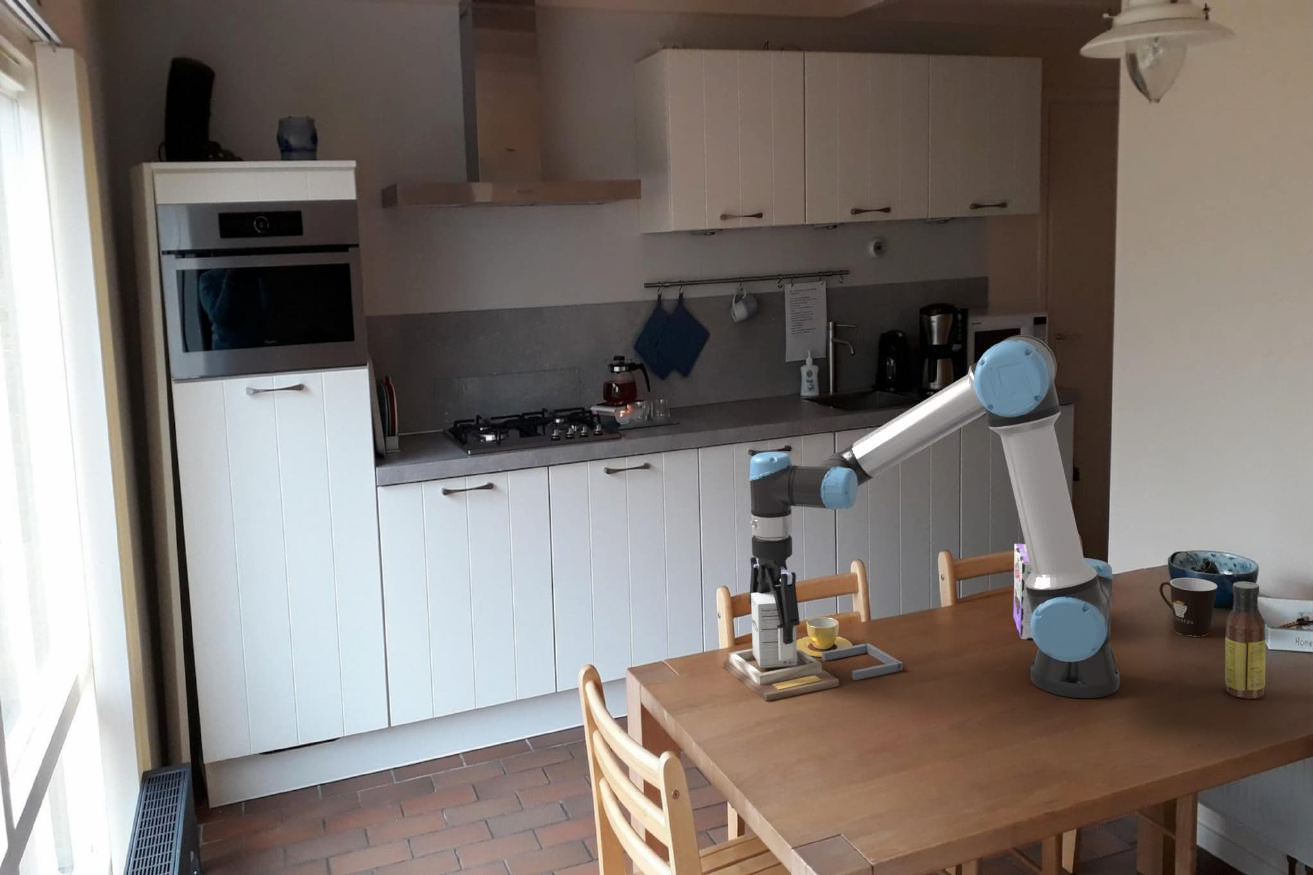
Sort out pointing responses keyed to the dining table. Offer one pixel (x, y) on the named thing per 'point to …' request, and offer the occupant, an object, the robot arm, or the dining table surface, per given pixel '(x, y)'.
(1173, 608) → the coffee mug
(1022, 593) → the candy box
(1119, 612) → the dining table surface
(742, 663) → the board
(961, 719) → the dining table surface
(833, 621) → the cup
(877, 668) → the bracket
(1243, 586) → the sauce bottle
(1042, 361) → the robot arm
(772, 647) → the supplement box
